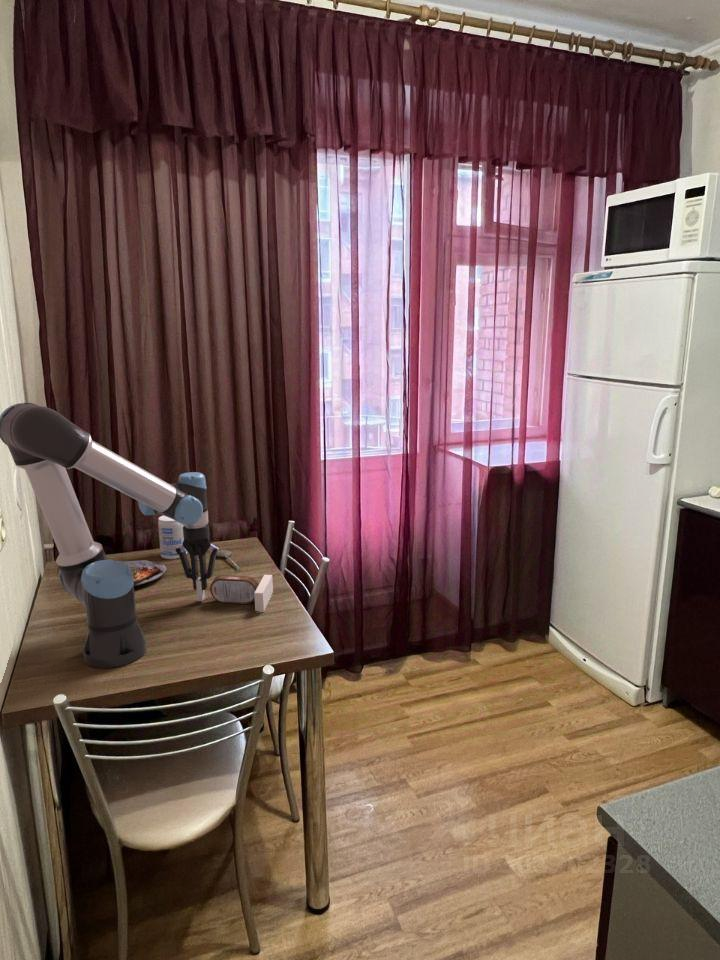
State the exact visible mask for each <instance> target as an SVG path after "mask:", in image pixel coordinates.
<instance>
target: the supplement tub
mask: <svg viewBox="0 0 720 960" xmlns="http://www.w3.org/2000/svg"><path fill="white" fill-rule="evenodd" d="M157 519H158V522H157V524H158V538H159V552H160V553H159V554H160V556H161V558H163V559H165V560H177V558H178V559H180V557H179V555H178V553H177V552H176V551H175V550H176V548H177V547H178V546H181V545H182V543H183V541H184V538H183V525H182V524H181V523H179V522H177V521H175V520H173V519H171V518H169V517H166V516H164V515H161V516H159V517H158V518H157ZM185 552H186V554H187V555H188V551H187V550H186V549H185Z"/></svg>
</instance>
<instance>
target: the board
mask: <svg viewBox="0 0 720 960" xmlns="http://www.w3.org/2000/svg"><path fill="white" fill-rule="evenodd" d="M273 580H274V579H273V574H263V576H262V578H261V580H260V582H259V583H258V584H259V585H258V587H257V589H256V591H255V593H254V596H255V601H254V608H255V609H254V610H255V611H257V612H256V613H264V612H265V611H266V609H267V607H268V605H269V603H270V601H269V600H271V599H270V598H272V596H273V594H274V584H273V582H274V581H273ZM272 593H273V594H272ZM271 595H272V596H271ZM268 602H269V603H268ZM267 604H268V605H267ZM266 606H267V607H266ZM265 608H266V609H265ZM264 610H265V611H264ZM258 611H259V612H258ZM263 611H264V612H263Z"/></svg>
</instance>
